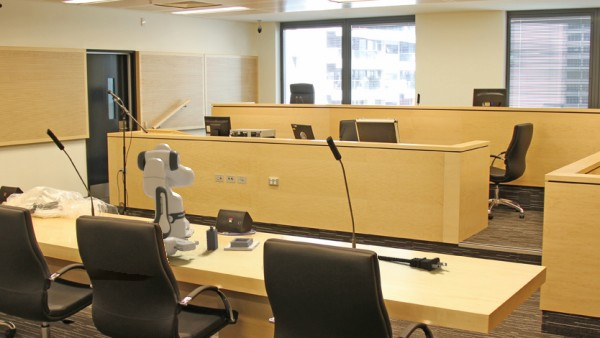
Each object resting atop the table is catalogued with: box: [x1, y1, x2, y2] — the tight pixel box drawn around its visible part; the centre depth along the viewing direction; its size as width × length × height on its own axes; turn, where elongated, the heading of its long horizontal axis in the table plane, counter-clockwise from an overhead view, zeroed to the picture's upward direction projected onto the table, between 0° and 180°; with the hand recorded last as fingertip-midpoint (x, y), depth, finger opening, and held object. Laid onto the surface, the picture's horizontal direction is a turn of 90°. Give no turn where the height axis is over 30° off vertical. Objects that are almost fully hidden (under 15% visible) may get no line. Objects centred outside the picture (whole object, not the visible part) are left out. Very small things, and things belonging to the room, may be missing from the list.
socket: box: [223, 237, 261, 251], centre depth 383 cm, size 15×15×4 cm
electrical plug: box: [377, 254, 448, 272], centre depth 340 cm, size 9×42×5 cm, turn 48°
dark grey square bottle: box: [205, 225, 219, 251], centre depth 380 cm, size 4×4×12 cm
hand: (192, 241), depth 371 cm, fingers open, 8 cm apart
